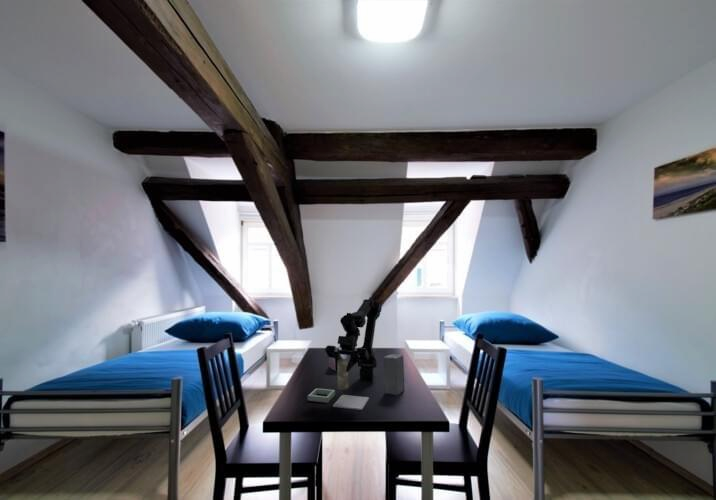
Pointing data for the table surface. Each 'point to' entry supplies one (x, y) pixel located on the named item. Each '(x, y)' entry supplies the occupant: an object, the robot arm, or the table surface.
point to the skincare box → (394, 374)
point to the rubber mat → (351, 402)
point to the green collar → (326, 399)
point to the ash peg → (342, 373)
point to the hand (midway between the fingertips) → (341, 371)
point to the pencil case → (332, 360)
